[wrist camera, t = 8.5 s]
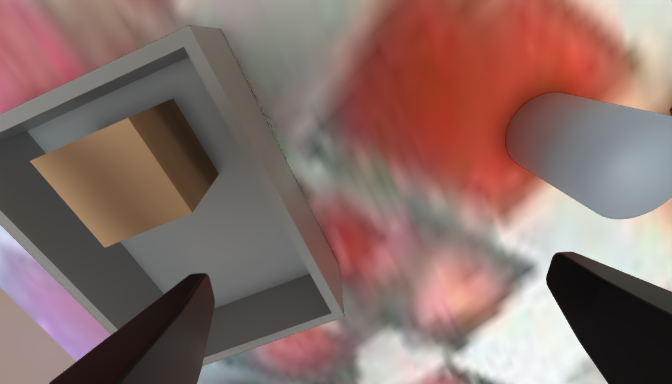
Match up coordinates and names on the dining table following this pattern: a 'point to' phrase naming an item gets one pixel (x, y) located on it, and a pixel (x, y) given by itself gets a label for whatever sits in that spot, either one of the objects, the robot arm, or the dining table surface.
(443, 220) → the dining table surface
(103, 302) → the tote
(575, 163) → the slate cylinder
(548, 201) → the dining table surface
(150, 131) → the walnut cube
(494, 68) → the dining table surface
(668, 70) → the dining table surface
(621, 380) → the robot arm
